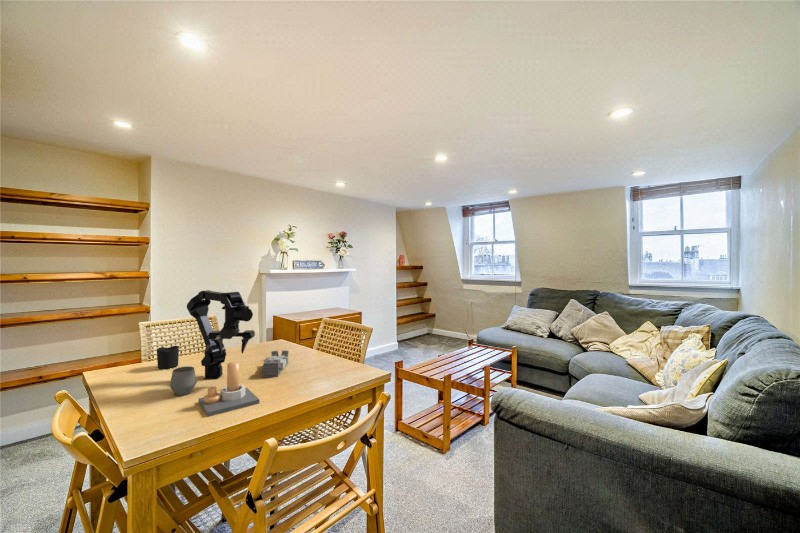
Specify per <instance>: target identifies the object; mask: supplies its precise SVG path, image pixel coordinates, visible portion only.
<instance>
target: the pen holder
mask: <svg viewBox="0 0 800 533" xmlns="http://www.w3.org/2000/svg"><path fill="white" fill-rule="evenodd" d="M179 350H180V346H179V345H173V346H170V347H166V346H165V347H164V346H162V347H161V346H160V347H157V348H156V359H157V369H159V370H161V369H166V370H171V369H170V368H172V369H174V367H175V368H178V366H179V357H180V356H179V352H180V351H179Z"/></svg>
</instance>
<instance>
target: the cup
mask: <svg viewBox="0 0 800 533" xmlns="http://www.w3.org/2000/svg"><path fill="white" fill-rule="evenodd" d="M196 384H197V375H196V370H195V367H194V366H190V365H189V366H181V367H175V369H174V368H173V370H172V373H171V378H170V382H169V387H170V389H171V390H172V392H173V394H174V395H176V396H185V395H188V394H190V393H193V391H194V389H195V387H196Z"/></svg>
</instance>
